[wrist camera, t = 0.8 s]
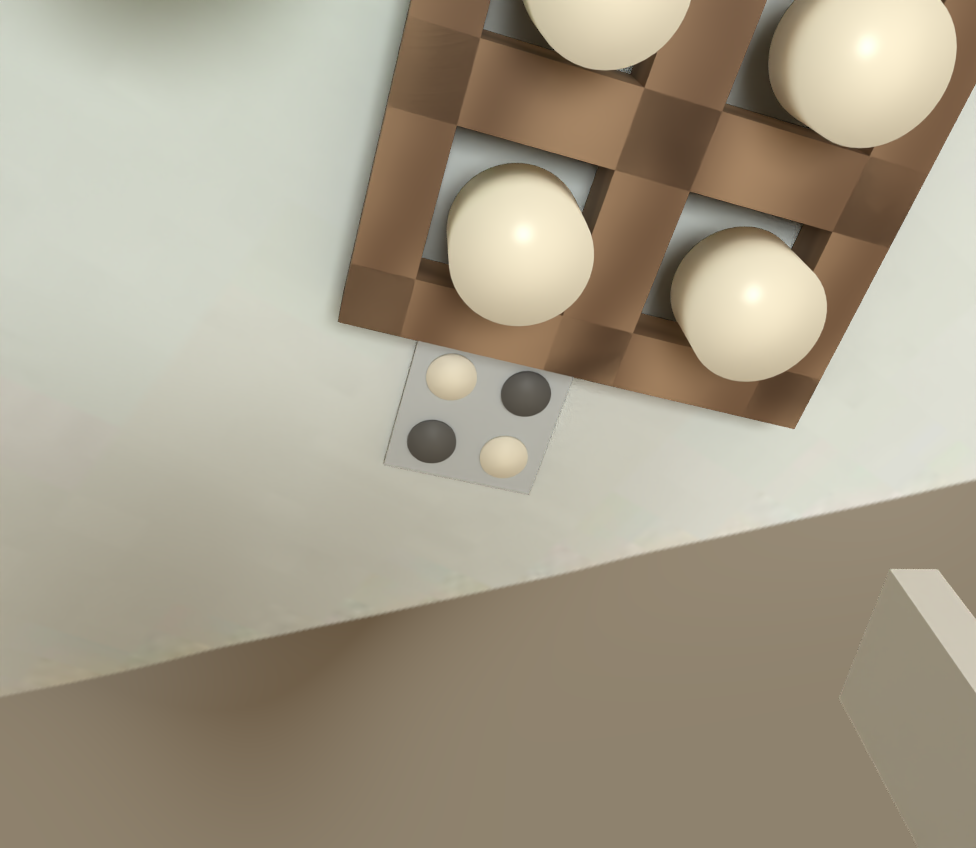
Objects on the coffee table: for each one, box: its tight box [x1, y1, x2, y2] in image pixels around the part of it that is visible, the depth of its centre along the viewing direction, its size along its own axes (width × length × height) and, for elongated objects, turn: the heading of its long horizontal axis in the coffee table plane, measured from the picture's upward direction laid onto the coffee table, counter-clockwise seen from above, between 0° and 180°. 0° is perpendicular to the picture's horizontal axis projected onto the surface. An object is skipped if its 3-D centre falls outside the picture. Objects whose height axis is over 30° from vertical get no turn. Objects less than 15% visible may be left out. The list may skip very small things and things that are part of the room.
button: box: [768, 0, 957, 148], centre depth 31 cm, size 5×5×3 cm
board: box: [338, 0, 976, 429], centre depth 35 cm, size 20×20×2 cm
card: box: [384, 341, 573, 495], centre depth 42 cm, size 7×7×1 cm
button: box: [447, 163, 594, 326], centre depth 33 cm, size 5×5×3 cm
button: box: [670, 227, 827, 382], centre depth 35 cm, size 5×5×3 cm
